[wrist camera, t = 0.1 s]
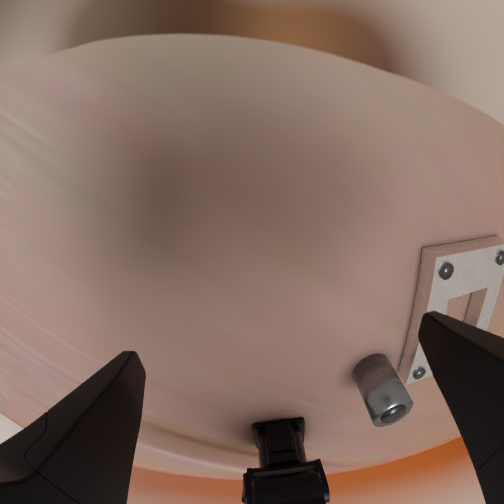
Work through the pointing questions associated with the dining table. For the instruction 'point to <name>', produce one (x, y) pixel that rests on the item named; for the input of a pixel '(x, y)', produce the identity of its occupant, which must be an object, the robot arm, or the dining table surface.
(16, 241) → the dining table surface
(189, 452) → the dining table surface
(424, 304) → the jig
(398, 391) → the cylinder
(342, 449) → the dining table surface
